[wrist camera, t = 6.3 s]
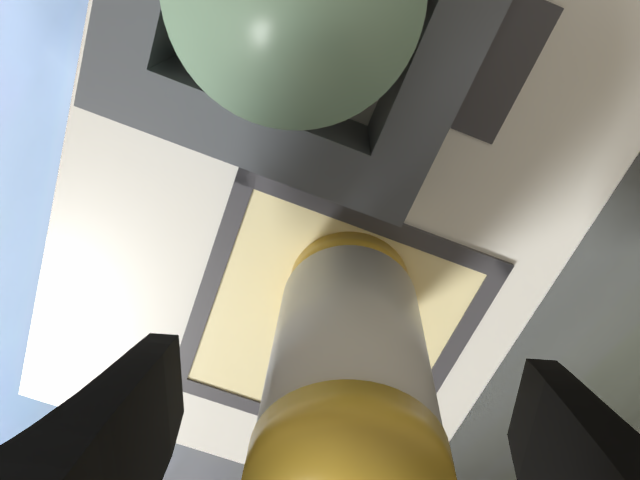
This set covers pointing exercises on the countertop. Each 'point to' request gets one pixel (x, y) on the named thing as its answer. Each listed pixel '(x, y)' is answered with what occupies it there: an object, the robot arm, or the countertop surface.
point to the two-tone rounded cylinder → (349, 373)
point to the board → (338, 228)
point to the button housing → (290, 145)
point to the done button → (294, 54)
